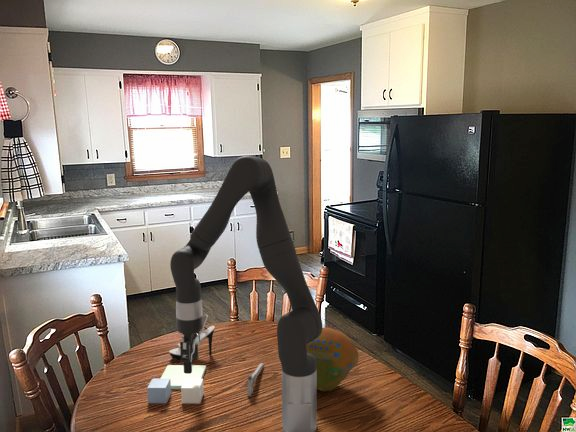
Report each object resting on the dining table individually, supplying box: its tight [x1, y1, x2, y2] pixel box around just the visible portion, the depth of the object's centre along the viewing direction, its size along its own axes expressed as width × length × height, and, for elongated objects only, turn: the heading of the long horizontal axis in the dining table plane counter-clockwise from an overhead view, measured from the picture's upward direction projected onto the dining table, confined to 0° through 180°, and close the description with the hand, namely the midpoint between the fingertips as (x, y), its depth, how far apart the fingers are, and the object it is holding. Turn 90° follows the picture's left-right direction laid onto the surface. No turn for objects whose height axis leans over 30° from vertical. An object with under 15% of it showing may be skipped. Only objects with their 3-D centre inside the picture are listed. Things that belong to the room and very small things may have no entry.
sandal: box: [168, 314, 216, 362], centre depth 171 cm, size 15×9×15 cm, turn 82°
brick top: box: [146, 377, 172, 404], centre depth 146 cm, size 5×5×5 cm
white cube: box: [180, 378, 205, 404], centre depth 146 cm, size 5×5×5 cm
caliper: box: [246, 362, 265, 397], centre depth 156 cm, size 20×1×6 cm, turn 172°
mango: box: [306, 327, 359, 392], centre depth 150 cm, size 20×16×20 cm
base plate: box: [160, 364, 207, 390], centre depth 157 cm, size 13×13×1 cm
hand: (191, 365), depth 144 cm, fingers open, 8 cm apart
